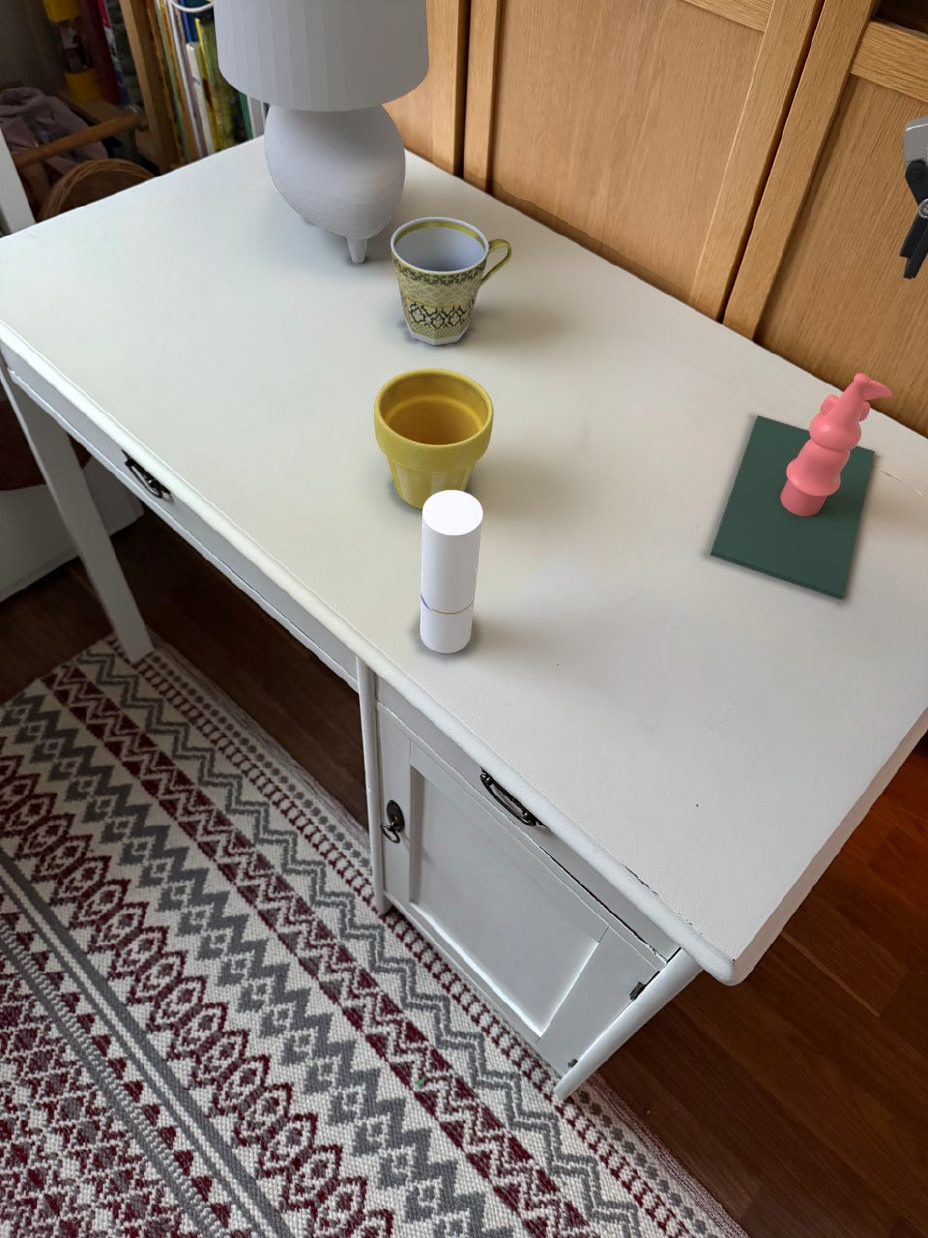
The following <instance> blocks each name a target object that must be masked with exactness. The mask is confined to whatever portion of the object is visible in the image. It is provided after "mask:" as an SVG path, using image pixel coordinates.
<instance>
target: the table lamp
mask: <svg viewBox="0 0 928 1238" xmlns="http://www.w3.org/2000/svg"><path fill="white" fill-rule="evenodd" d="M212 5H213V16H214V27H215V29H214V30H215V39H216V49H217V62H218V69H219V71H220V74H221V75H222V77H223V78H224V79H225V80H226V82H228V84H229V85H230V86H232V87H233V88H234V89H236V90H237V91H238V92H240V93H242V94H244V95H246V96H247V97H249V98H252V99H255V100H257V101H260V102H261V103H262V102H263V103H265V104H269V105H270V106H269V109H268V112H267V115H266V119H265V123H264V132H263V145H264V155H265V162H266V165H267V169H268V172H269V175H270V178H271V180H272V182H273V185H274V186H275V188H276V190H277V191H278V193H279V194H280V196H281V197H282V199H283V200H284V201H285V202H286V203H287V204H288V205H289V207H290V208H292V210H294V211H295V212H296V213H297V214H298V215H299V216H301V217H302V218H303V219H304V220H307V221H308V222H310V223H311V224H313V225H315V226H317V227H319V228H320V229H323V230H325V231H328V232H329V233H333V234H334V235H338V236H341V237H344V238H346V243H347V245H348V248H349V254H350V257H351V260H352V262H353V263H355V264H362V263H364V262H365V257H366V250H367V243H368V239H369V238H373V237H375V236H377V235H378V234H379V233H381V232H382V230H384V229H385V228H386V227H387V225H388V224H389V222H390V221H391V219H392V218H393V216H394V215H395V213H396V211H397V208H398V206H399V204H400V201H401V199H402V195H403V192H404V191H403V190H404V186H405V182H406V181H405V180H406V172H407V171H406V169H407V168H406V166H407V165H406V162H407V161H406V160H407V159H406V151H405V145H404V141H403V137H402V134H401V133H400V130H399V128H398V126H397V123H396V122H395V120H394V119H393V117H392V116H391V115H390V113H389V112H388V111H387V109H386V108H385V107H384V106H383V105H384V104H388V103H391V102H393V101H397V100H398V99H400V98H402V97H405V96H406V95H408V94H410V93H411V92H413V91H414V90H416V89H417V88H418V87H419V86H420V85H421V84H422V83H423V82H424V80H425V79H426V77H427V76H428V73H429V70H430V54H429V52H430V51H429V36H428V35H429V32H428V15H427V13H428V12H427V0H212Z"/></svg>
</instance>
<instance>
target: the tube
mask: <svg viewBox="0 0 928 1238" xmlns="http://www.w3.org/2000/svg"><path fill="white" fill-rule="evenodd" d="M421 513H422V515H421V517H422V519H421V567H420V570H421V573H420V575H421V576H420V619H419V622H420V623H419V630H420V631H419V635H420V639H421V641H422V642H423V644H424V645H425V647H427V648H428V649H429V650H431V651H433V652H435V653H439V654H453V653H457V652H459V651H461V650H462V649H464V648H466V646H467V645H468V644H469V643H470V640H471V638H472V627H473V617H474V607H475V597H476V589H477V588H476V586H477V580H478V579H477V578H478V567H479V560H480V559H479V558H480V548H481V539H482V538H481V537H482V529H483V527H482V526H483V518H484V511H483V507H482V504H481V503H480V502H479V500H478V499H477V498H476V497H475V496H473V495H471V493H468V492H465V491H464V492H462V491H457V490H446V491H441V492H438V493H436V494H434V495H432V496H431V497H430V498H429V499H427V501H426V502H425V504H424V506H423V509H422V512H421Z"/></svg>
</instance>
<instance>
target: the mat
mask: <svg viewBox="0 0 928 1238" xmlns="http://www.w3.org/2000/svg"><path fill="white" fill-rule="evenodd" d="M810 439H811V436H810V433H809V430H807V429H804V428H800V427H797V426H794V425H790V424H789V423H784V422H781V421H777V420H775V419H771V418H768V417H765V416H762V415H757V416H756V419H755V421H754V424H753V427H752V430H751V433H750V436H749V439H748V442H747V445H746V447H745V451H744V453H743V457H742V460H741V462H740V465H739V468H738V471H737V474H736V477H735V480H734V483H733V486H732V488H731V492H730V495H729V498H728V501H727V503H726V506H725V509H724V512H723V515H722V519H721V521H720V524H719V526H718V527H719V528H718V531H717V533H716V536H715V539H714V541H713V544H712V547H711V551H710V554H709V555H710V556H712V557H716V558H718V559H721V560H723V561H724V560H725V561H728V562H730V563H733V564H736V565H738V566H741V567H744V568H745V567H746V568H748V569H750V570H754V571H756V572H759V573H763V574H765V575H768V576H771V577H774V578H777V579H780V580H783V581H786V582H789V583H791V584H794V585H797V586H800V587H803V588H806V589H810V590H813V591H814V592H815V591H816V592H818V593H821V594H823V595H827V596H829V597H833V598H835V599H839V600H842V599H843V597H844V596H845V595H844V594H845V590H846V587H847V580H848V576H849V572H850V568H851V562H852V558H853V553H854V549H855V544H856V541H857V540H856V539H857V536H858V531H859V527H860V526H859V525H860V520H861V516H862V511H863V507H864V503H865V498H866V494H867V490H868V484H869V479H870V476H871V471H872V465H873V461H874V456H875V453H876V452H875V450H872V449H868V448H865V447H863V446H859V445H857V446H856V447H855V448H853V449H852V450H850V456H849V459H848V461H847V463H846V464H845V466H844V467H843V469H842V470H841V472H840V486H839V488H838V490H837V491H836V492H834V493H833V494H831V495H829V496H827V498H826V500H825V502H824V504H823V505H822V507H821V509H820V511H819V512H818V513H816V514H815V515H812V516H799V515H796V514H794V513H792V512H790V511H789V510H787V509H786V508H785V507H784V506H783V504H782V502H781V499H780V496H781V493H782V490H783V488H784V486H785V484H786V482H787V480H788V477H787V474H786V470H787V467H788V465H789V463H790V462H791V461H793V460H794V459H796V458H797V457H798V455H799V453H800V451H801V450H802V448H803V447H804V445H805V444H806V443H807V442H808V441H809V440H810Z"/></svg>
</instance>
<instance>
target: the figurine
mask: <svg viewBox="0 0 928 1238" xmlns="http://www.w3.org/2000/svg"><path fill="white" fill-rule="evenodd" d="M892 397H893V393H892V391H891V390H890V388H888V386H886V385H885V384H883V383H882V382H879V381H877V380H874V379H871V378H869V376H868V375H867V374H865V373H862V372H857V373H856V374H855V375H854V377H853V381H852V382H851V383H850V384H849V385H848V386H847V387H846V388H845V389H844V391H843V392H842V394H841V395H840V396H837V395H836V394H828V395H827V397H825V398H824V400H823V402H822V403H821V405H820V407H819V411H820V412H818V413H817V414H816V415H814V417H813V418H812V420H811V421H810V424H809V428H808V431H809V433H810V436H811V439H810V440H809V441H808V442H807V443H806V444H805V445H804V447H803V448H802V450H801V451H800V453H799V455H798V457H797V458H796V459H794V460H793V461H791V462H790V463H789V465H788V467H787V470H786V474H787V477H788V480H787V482H786V484H785V486H784V488H783V490H782V493H781V496H780V499H781V502H782V504H783V506H784V507H785V508H786V509H787V510H789V511H790V512H792V513H794V514H796V515H799V516H812V515H815V514H816V513H818V512H819V511H820V509H821V507H822V505H823V504H824V502H825V500H826V498H827V496H829V495H831V494H833V493H834V492H836V491H837V490H838V488H839V486H840V472H841V470H842V469H843V467H844V466H845V464H846V463H847V461H848V459H849V456H850V450H852V449H853V448H855V447H856V446H858V444H859V443H860V441H861V438H862V428H861V425H860V423H861V422H863V421H865V420H866V419H867V418H868V415H869V414H870V411H871V404H870V403H869V402H868V401H870V400H875V399H880V398H892Z"/></svg>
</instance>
